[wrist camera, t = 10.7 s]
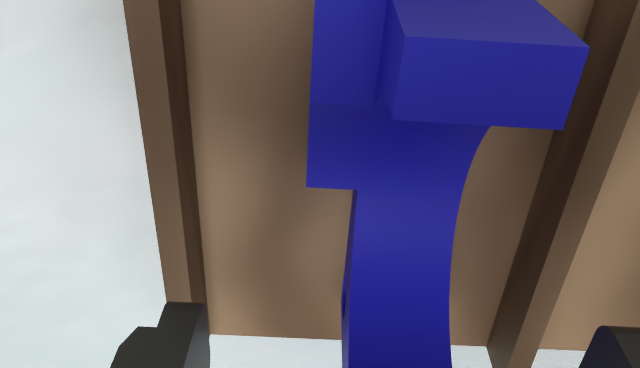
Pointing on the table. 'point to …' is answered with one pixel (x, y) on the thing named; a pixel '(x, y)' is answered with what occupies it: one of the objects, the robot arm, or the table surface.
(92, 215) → the table surface
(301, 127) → the rack
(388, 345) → the blue cradle stand
